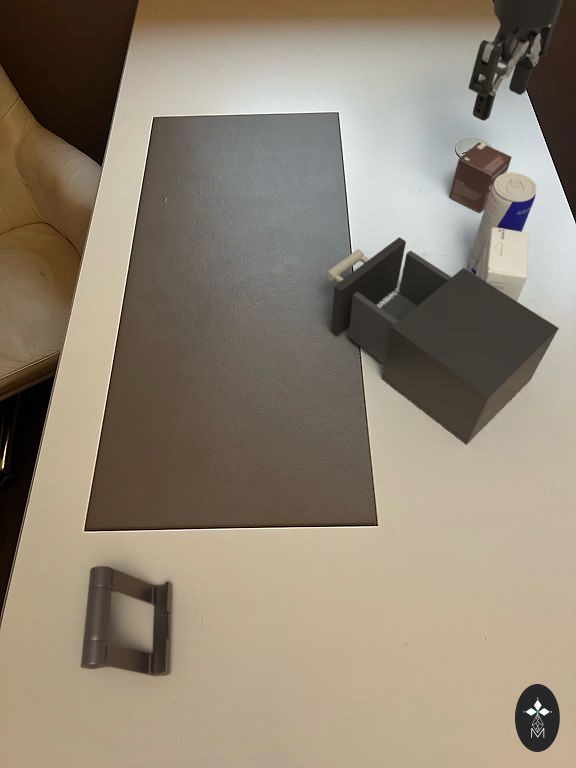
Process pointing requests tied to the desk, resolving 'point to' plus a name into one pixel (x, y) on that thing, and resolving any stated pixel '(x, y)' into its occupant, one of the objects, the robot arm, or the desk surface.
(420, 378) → the cabinet
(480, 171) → the box
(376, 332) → the drawer
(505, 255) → the ink box
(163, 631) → the tablet stand
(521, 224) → the beverage can
